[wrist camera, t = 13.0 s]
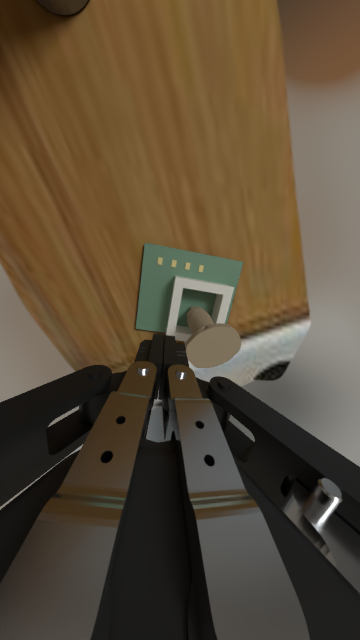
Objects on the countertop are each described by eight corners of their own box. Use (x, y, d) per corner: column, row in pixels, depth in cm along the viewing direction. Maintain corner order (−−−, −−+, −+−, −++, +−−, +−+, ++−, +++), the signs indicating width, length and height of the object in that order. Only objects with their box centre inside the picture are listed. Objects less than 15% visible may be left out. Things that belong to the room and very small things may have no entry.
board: (145, 243, 31) (144, 242, 30) (241, 262, 33) (243, 262, 32) (136, 326, 35) (135, 329, 34) (220, 338, 37) (222, 341, 36)
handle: (213, 317, 35) (245, 354, 21) (184, 329, 35) (195, 374, 21) (205, 295, 33) (233, 318, 19) (174, 308, 34) (180, 341, 19)
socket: (174, 275, 32) (175, 277, 28) (226, 284, 33) (234, 287, 29) (165, 335, 35) (164, 343, 32) (212, 341, 36) (217, 350, 33)
